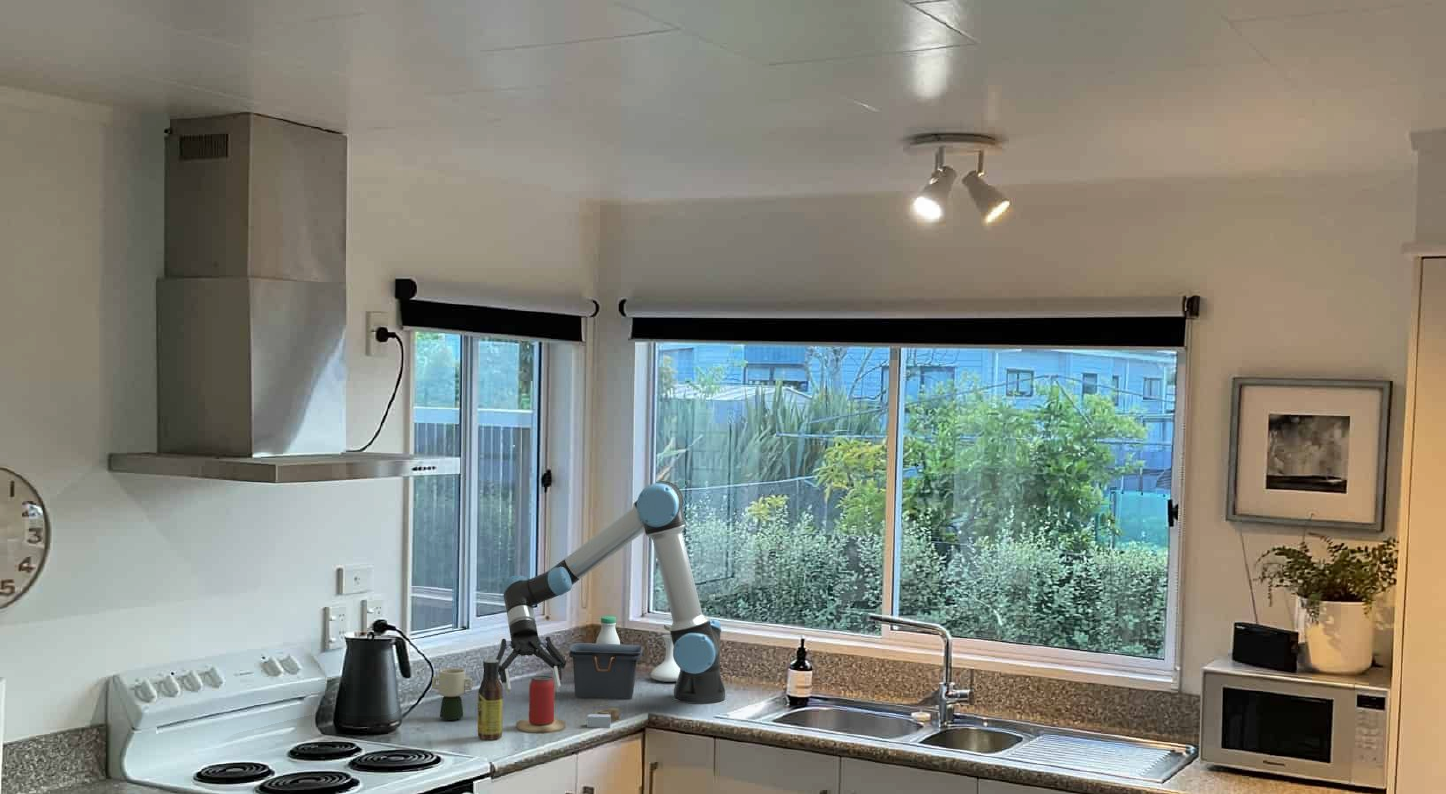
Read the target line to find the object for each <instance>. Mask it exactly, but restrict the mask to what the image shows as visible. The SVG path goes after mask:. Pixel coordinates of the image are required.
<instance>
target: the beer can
mask: <svg viewBox="0 0 1446 794" xmlns="http://www.w3.org/2000/svg"><path fill="white" fill-rule="evenodd" d="M529 682H530V683H529V687H528V688H529V689H528V690H529V692H528V699H529V700H528V718H529V722H530V723H531V724H533V725H549V724H552V723H553V722H554V718H555V692H556V688H555V683H554V678H553V676H552V675H534V676H532V677H531V680H530V681H529Z"/></svg>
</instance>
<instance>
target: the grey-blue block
mask: <svg viewBox="0 0 1446 794" xmlns="http://www.w3.org/2000/svg"><path fill="white" fill-rule="evenodd" d="M586 720H587V721H586V723H587V724H586V726H587V727H602V729H604V728H606V729H610V728H611V723H612V722H611V714H598V713H596V714H594V713H593V714H592V713H590V714H589V713H588V714H587V719H586Z"/></svg>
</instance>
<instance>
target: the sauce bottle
mask: <svg viewBox="0 0 1446 794" xmlns="http://www.w3.org/2000/svg"><path fill="white" fill-rule="evenodd" d="M482 666H483V675H482V681H481V683H480V686H479V689H478V691H477V736H478V738H479V740H483V741H496V740H499V739H500V738H501V737H502V736H503V734H502V733H503V720H504V719H503V717H504V715H503V714H504V713H503V712H504V709H503V707H504V706H503V705H504V703H503V702H504V696H503V695H504V694H503V685H502V684H503V683H502V682H501V680H500V678H499V676H500V675H499V672H498V668H499V666H500V664H499V660H496V659H495V658H488V659H484V660H483V661H482Z"/></svg>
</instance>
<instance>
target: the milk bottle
mask: <svg viewBox="0 0 1446 794" xmlns="http://www.w3.org/2000/svg"><path fill="white" fill-rule="evenodd" d="M616 624H617V617H616V616H612V615H611V616H610V615H609V616H608V615H607V616H601V618H600V625H601V626H600V627H601V629H600V632H599V634H598V636H597V638H596V642H595V643H597V644H620V645H621V641H620V637H619V635H618V633H617V630H616Z"/></svg>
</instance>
